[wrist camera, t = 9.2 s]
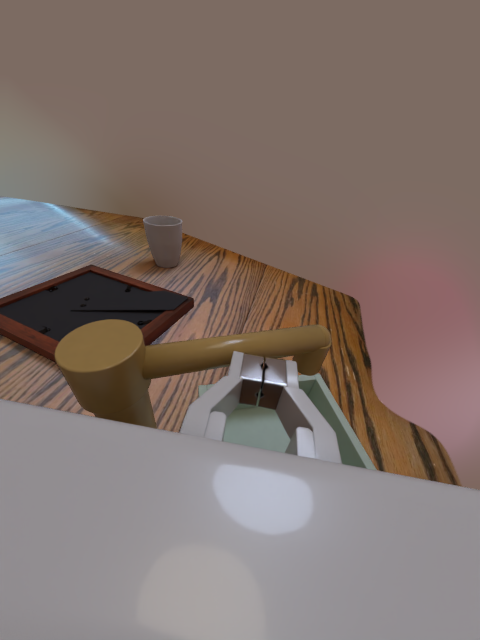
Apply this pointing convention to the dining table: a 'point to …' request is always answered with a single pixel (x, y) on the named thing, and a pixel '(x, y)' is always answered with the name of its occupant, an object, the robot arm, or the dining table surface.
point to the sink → (269, 433)
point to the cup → (164, 239)
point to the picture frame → (87, 307)
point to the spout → (167, 358)
